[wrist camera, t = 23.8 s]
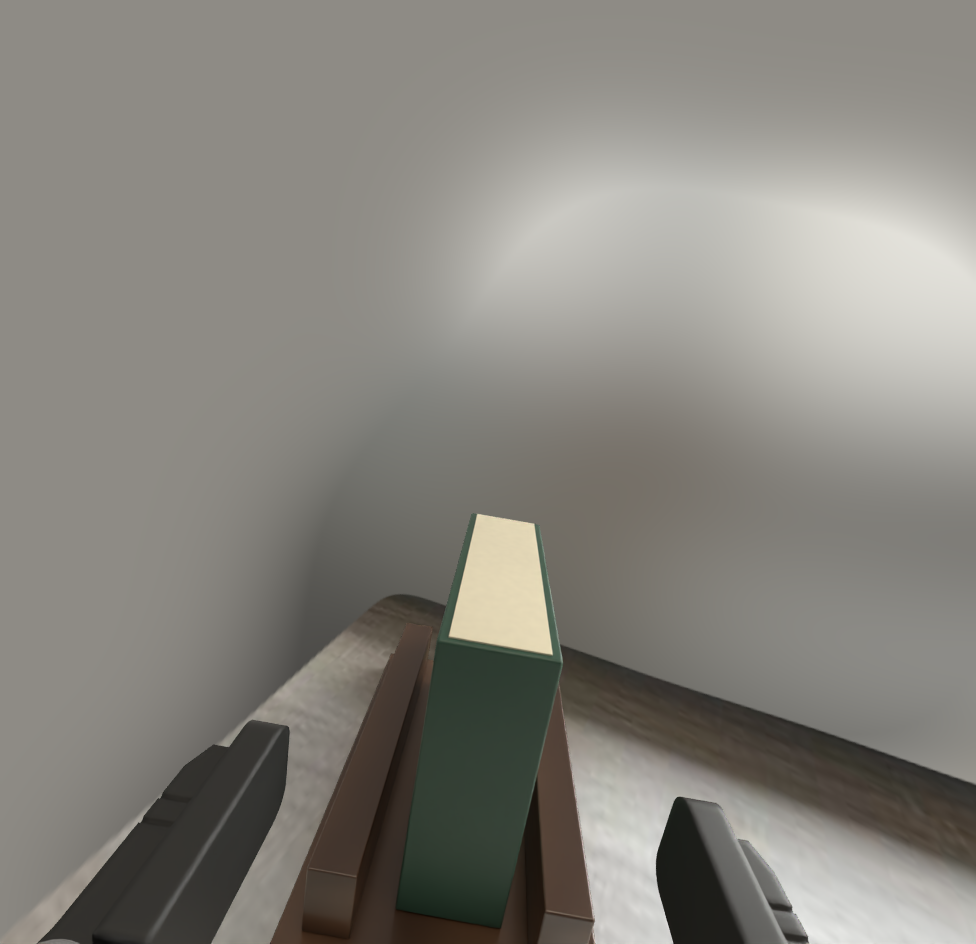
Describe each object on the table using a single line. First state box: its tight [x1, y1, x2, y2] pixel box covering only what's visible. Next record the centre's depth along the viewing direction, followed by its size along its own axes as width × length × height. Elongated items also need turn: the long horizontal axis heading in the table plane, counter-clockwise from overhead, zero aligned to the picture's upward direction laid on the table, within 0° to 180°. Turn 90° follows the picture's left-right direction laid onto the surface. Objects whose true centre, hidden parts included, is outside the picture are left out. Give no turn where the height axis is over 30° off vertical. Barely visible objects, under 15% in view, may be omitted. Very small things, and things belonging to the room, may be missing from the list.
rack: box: [270, 623, 595, 944], centre depth 20 cm, size 10×14×4 cm
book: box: [395, 514, 563, 928], centre depth 19 cm, size 4×11×10 cm, turn 177°
